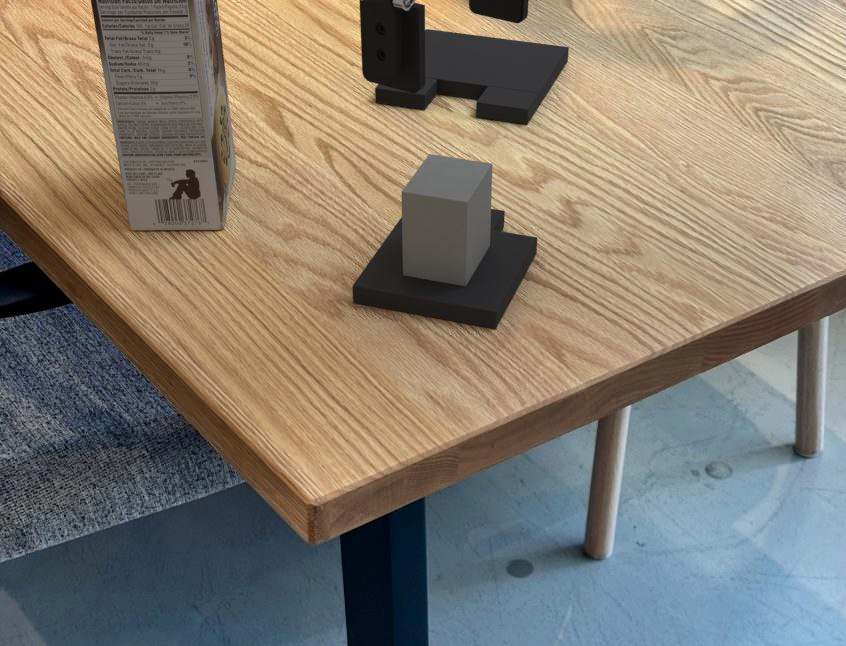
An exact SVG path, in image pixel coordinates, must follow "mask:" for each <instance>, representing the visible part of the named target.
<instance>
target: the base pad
mask: <svg viewBox="0 0 846 646" xmlns="http://www.w3.org/2000/svg"><path fill="white" fill-rule="evenodd" d="M569 47H570V46H563V45H555V44H547V43H541V42H540V43H539V42H533V41H525V40H524V41H523V40H516V39H508V38H500V37H492V36H486V35H477V34H470V33H461V32H454V31H447V30H446V31H445V30H438V29H430V28H425V86H424V88H423V89H421V90H420V91H418V92H417V93H410V92H406V91H402V90H399V89H395V88H391V87H387V86H384V85H380V84H376V86H375V88H374V96H375V97H374V98H375V103H377V104H383V105H388V106H389V105H390V106H397V107H403V108H410V109H417V110H426V109H427V108H428V106H429V105H430V104H431V102H432V101H433V100H434V99H435V97H436V96H437V95H444V96H451V97H452V96H453V97H458V98H465V99H466V98H467V99H473V100H476V102H475V117H476V118H477V119H487V120H493V121H499V122H505V123H513V124H521V125H528V124H529V123H530V122H531V120H532V119H533V116H534V115H535V113H536V112H537V111H538V109H539V107H540V106H541V104H542V103H543V101H544V100H545V97H547V95H548V93H549V92H550V91H551V88H552V87H553V85H554V84H555V82H556V81H557V79H558V78H559V76H560V75H561V73H562V71H563V70H564V68H565V66H566V65H567V63H568V62H569V50H570V48H569Z"/></svg>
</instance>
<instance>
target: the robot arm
mask: <svg viewBox="0 0 846 646" xmlns="http://www.w3.org/2000/svg"><path fill="white" fill-rule="evenodd" d="M358 1H359V22H360V48H361V49H360V50H361V52H360V53H361V73H362V77H363V79H365V80H366V81H367V82H369V83H373V84H376V85H378V84H380V85H384V86H387V87H391V88H395V89H399V90H402V91H406V92H410V93H417V92H418V91H420V90H421V89H423V88H424V86H425V30H426V4H423V3H418V2H416V0H358ZM468 8H469V10H470V12H471V13H473V14H475V15H478V16H483V17H487V18H491V19H495V20H500V21H505V22H509V23H514V24H521V23H522V22H523V21H525V20H526V19H527V18H528V15H529V0H468Z"/></svg>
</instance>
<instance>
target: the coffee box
mask: <svg viewBox="0 0 846 646" xmlns="http://www.w3.org/2000/svg"><path fill="white" fill-rule="evenodd" d="M90 4H91V10H92V15H93V21H94V28H95V33H96V39H97V45H98V50H99V55H100V61H101V68H102V72H103V73H102V74H103V78H104V85H105V90H106V91H105V92H106V97H107V101H108V102H107V103H108V108H109V113H110V119H111V120H110V121H111V126H112V132H113V136H114V142H115V148H116V154H117V160H118V166H119V173H120V177H121V184H122V190H123V195H124V201H125V206H126V211H127V217H128V223H129V228H130V230H131V231H220V230H223V229H224V228H225V225H226V224H225V223H226V219H227V213H228V210H229V204H230V199H231V193H232V188H233V183H234V179H235V172H236V167H237V157H236V151H235V141H234V134H233V126H232V117H231V108H230V97H229V91H228V89H229V88H228V82H227V73H226V65H225V64H226V63H225V56H224V47H223V37H222V30H221V22H220V13H219V5H218V0H90Z"/></svg>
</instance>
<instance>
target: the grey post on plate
mask: <svg viewBox="0 0 846 646" xmlns="http://www.w3.org/2000/svg"><path fill="white" fill-rule="evenodd" d="M492 189H493V163H491V162H485V161H478V160H472V159H465V158H459V157H452V156H446V155H439V154H433V153H429V154H428V155H427V156H426V158H425V159H424V160H423V161H422V163H421V164H420V165H419V167H418V169H417V170H416V171H415V172H414V174H413V175H412V176H411V178H410V180H409V181H408V182H407V183H406V185H405V186H404V188H403V189H402V191H401V216H400V218H399V220H398V221H397V223H396V224H395V226H393V228H392V229H391V231H390V232H389V234H388V235H387V237H386V238H385V239H384V241H383V242H382V244H381V245H380V246H379V248H378V249H377V251H376V252H375V254H374V255H373V257H372V258H371V259H370V261H369V262H368V263H367V265H366V266H365V267H364V269H363V271H362V272H361V273H360V275H358V277H357V279H356V280H355V281H354V283H353V284H352V286H351V287H352V303H354V304H358V305H363V306H369V307H375V308H380V309H385V310H390V311H397V312H402V313H408V314H411V315H412V314H413V315H418V316H423V317H429V318H435V319H438V320H439V319H440V320H444V321H451V322H456V323H461V324H467V325H472V326H477V327H484V328H487V329H488V328H489V329H494V330H496V329H497V328H498V326H499V324H500V322H501V320H502V319H503V317H504V315H505V313H506V311H507V310H508V307H509V305H510V303H512V300H513V298H514V296H515V295H516V293H517V291H518V289H519V287H520V286H521V283H522V281H523V280H524V278H525V276H526V275H527V272H528V270H529V269H530V267H531V265H532V263H533V260H534V259H535V257H536V256H537V253H538V237H537V236H531V235H527V234H526V235H525V234H519V233H515V232H507V231H503V229H504V228H505V217H506V216H505V215H506V214H505V210H502V209H495V208H492V194H493V193H492V191H493V190H492Z"/></svg>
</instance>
